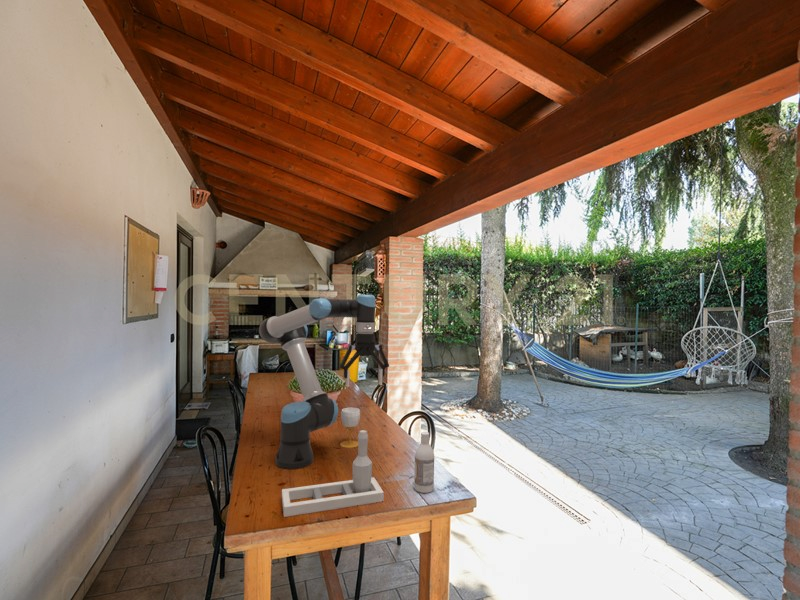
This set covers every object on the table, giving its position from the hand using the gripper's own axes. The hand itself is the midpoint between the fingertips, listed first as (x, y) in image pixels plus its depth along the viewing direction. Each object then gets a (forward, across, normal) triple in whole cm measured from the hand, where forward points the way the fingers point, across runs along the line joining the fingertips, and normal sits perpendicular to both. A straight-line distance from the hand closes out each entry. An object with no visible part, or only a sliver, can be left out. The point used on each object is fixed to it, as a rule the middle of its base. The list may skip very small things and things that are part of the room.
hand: (364, 385), depth 158 cm
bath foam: (+33, +16, -25) cm, 44 cm away
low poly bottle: (+33, -6, -23) cm, 41 cm away
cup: (+33, +1, +26) cm, 42 cm away
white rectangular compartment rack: (+33, -16, -23) cm, 43 cm away
